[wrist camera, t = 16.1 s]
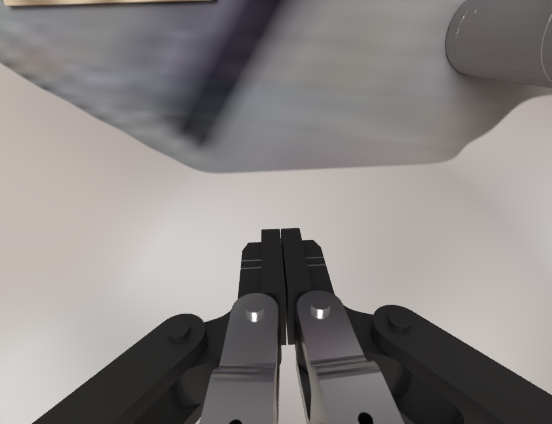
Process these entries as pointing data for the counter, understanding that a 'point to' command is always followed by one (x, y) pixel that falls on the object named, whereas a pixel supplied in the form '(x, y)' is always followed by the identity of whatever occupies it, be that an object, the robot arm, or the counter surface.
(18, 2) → the label board
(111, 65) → the counter surface
